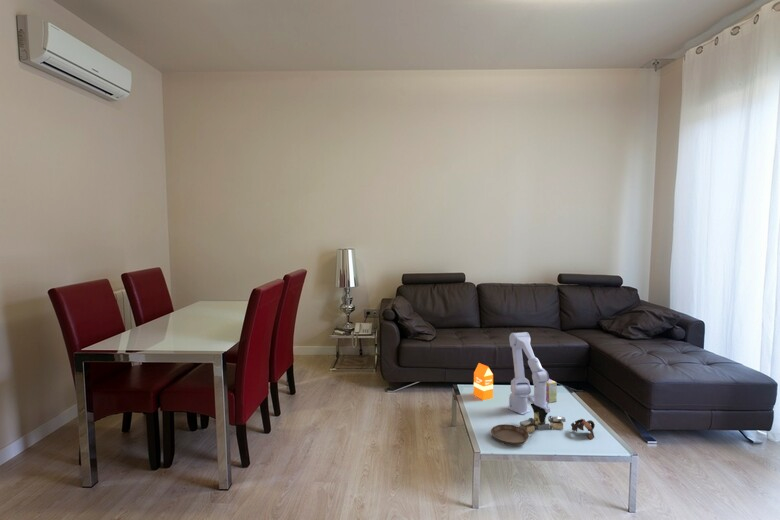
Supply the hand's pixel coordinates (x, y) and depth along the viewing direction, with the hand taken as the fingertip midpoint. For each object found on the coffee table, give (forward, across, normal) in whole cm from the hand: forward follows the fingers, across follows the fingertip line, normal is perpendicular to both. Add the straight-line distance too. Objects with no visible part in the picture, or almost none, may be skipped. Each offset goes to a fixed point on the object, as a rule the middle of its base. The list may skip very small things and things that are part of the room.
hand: (539, 420), depth 197 cm
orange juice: (+4, +41, +12) cm, 43 cm away
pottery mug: (+4, -12, -17) cm, 21 cm away
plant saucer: (+4, -8, +21) cm, 22 cm away
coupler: (+3, 0, 0) cm, 3 cm away
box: (+4, +30, -24) cm, 38 cm away
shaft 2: (+3, -2, -8) cm, 9 cm away
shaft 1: (+3, -2, +8) cm, 9 cm away
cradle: (+3, 0, 0) cm, 3 cm away
